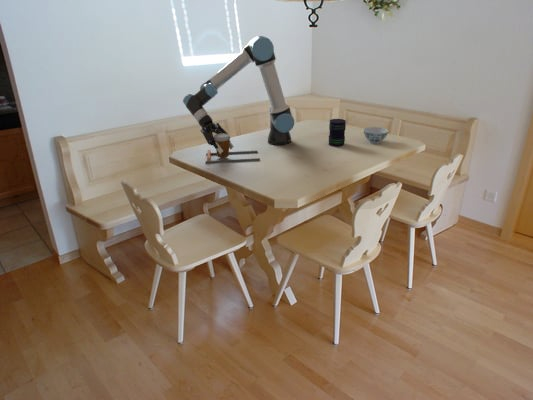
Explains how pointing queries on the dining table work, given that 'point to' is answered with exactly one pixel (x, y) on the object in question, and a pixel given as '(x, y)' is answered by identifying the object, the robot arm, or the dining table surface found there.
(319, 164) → the dining table surface
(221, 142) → the disposable coffee cup
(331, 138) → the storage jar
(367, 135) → the chinaware
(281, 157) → the dining table surface
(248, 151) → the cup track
